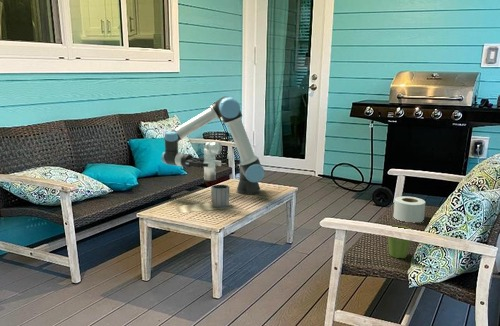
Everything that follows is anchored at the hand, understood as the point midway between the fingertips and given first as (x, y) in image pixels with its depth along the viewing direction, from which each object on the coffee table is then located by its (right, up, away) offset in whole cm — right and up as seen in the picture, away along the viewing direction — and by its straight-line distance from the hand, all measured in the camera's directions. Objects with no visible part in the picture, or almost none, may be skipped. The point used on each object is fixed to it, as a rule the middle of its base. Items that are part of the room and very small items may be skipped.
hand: (217, 164), depth 240 cm
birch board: (-8, -25, +6) cm, 27 cm away
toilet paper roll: (+103, -30, -6) cm, 107 cm away
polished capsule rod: (-3, -8, +4) cm, 10 cm away
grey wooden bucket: (+1, -23, +9) cm, 25 cm away
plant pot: (+81, -39, -54) cm, 105 cm away
